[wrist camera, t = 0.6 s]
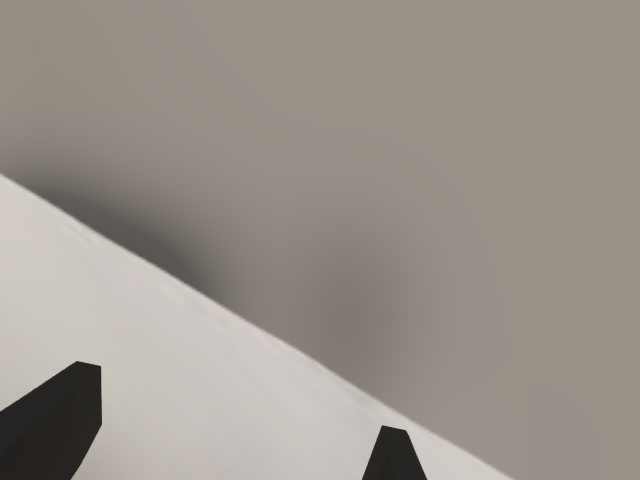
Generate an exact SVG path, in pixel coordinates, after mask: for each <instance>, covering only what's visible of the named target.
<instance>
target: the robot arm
mask: <svg viewBox="0 0 640 480" xmlns="http://www.w3.org/2000/svg"><path fill="white" fill-rule="evenodd" d="M101 425H102V399H101V366H98V365H93V364H89V363H84V362H79V361H76V362H75V363H73V364H72V365H70V366H68V367H67V368H65V369H64V370H62V371H61V372H59V373H58V374H56V375H55V376H53V377H52V378H50V379H49V380H47V381H46V382H44V383H43V384H41V385H40V386H38V387H37V388H35V389H34V390H32V391H31V392H29V393H28V394H26V395H25V396H23V397H22V398H20V399H19V400H17V401H16V402H14V403H13V404H11V405H10V406H8V407H6V408H5V409H3V410H2V411H0V480H71V478H72V477H73V475H74V474H75V472H76V471H77V469H78V468H79V466H80V465H81V463H82V461H83V459H84V457H85V456H86V454H87V452H88V450H89V448H90V446H91V444H92V442H93V441H94V439H95V437H96V435H97V433H98V431H99V429H100V427H101ZM362 480H427V478H426V476H425V473H424V471H423V469H422V466H421V464H420V462H419V459H418V457H417V455H416V452H415V450H414V447H413V445H412V442H411V440H410V437H409V435H408V433H407V432H406V430H402V429H397V428H393V427H388V426H383V425H382V427H381V430H380V432H379V435H378V438H377V440H376V443H375V446H374V448H373V451H372V454H371V457H370V459H369V462H368V465H367V467H366V470H365V473H364V475H363V478H362Z"/></svg>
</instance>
